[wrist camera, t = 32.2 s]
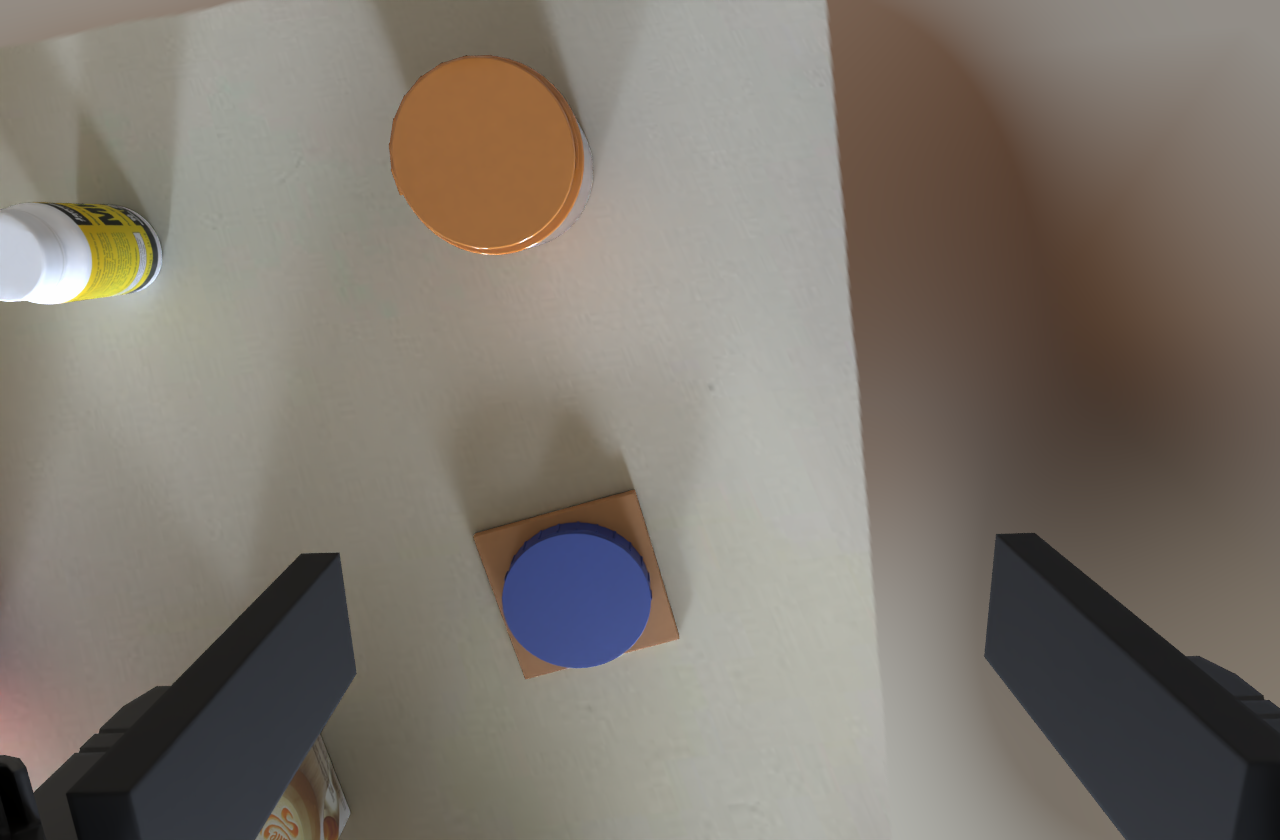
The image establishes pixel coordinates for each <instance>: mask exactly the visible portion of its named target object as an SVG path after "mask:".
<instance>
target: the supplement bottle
mask: <svg viewBox="0 0 1280 840" xmlns="http://www.w3.org/2000/svg"><path fill="white" fill-rule="evenodd" d="M161 264H162V250H161V245H160V242H159V239H158V236H157V234H156V232H155V231H154V229H153V228H152V226H151V225H150V224H149V223H148V222H147V221H146V220H145V219H144V218H143V217H142V216H140V215H139V214H137V213H136V212H134V211H132V210H130V209H128V208H125V207H122V206H117V205H107V204H72V203H46V202H28V203H20V204H15V205H12V206H10V207H7V208H5V209H0V301H8V302H13V301H23V300H27V301H30V302H34V303H39V304H61V303H67V302H73V301H80V300H87V299H94V298H101V297H109V296H116V295H123V294H129V293H134V292H137V291H140V290H142V289H144V288H146V287H147V286H149V285H150V284H151V283H152V282H153V281H154V280H155V278H156V277H157V275H158V273H159V271H160V268H161Z"/></svg>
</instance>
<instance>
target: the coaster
mask: <svg viewBox="0 0 1280 840" xmlns="http://www.w3.org/2000/svg"><path fill="white" fill-rule="evenodd" d="M577 521H579V522H581V523H590V524H595V525H596V524H598V525H599V526H602V527H605V528H608V529H610V530H612V531H616V533H617V534H619V535H621V536H622V537H624V538H625V539H626V540H627V541H628V542H631V545H632V546H633V547H634V548H635V549H636V550H637V552H638V553H639V554H640V556H642V557H643V561H644V563H645V565H646V568H647V571H648V572H649V573H650V590H652V600H651V608H650V614H649V618H648V622H647V624H646V627H645V629H644V631H643V632H642V634H641V636H640V637H639V638H638V640H637V641H636V642H635V644H634V645H633V646H632V647H631V648H630V649H629V650H627V651H626V652H625V653H628V652H632V651H636V650H639V649H643V648H647V647H651V646H655V645H658V644H662V643H666V642H670V641H674V640H677V639H679V633H678V629H677V626H676V623H675V620H674V616H673V613H672V610H671V606H670V603H669V600H668V597H667V593H666V590H665V587H664V583H663V580H662V577H661V574H660V570H659V567H658V564H657V560H656V557H655V554H654V550H653V547H652V544H651V541H650V537H649V534H648V531H647V527H646V524H645V521H644V518H643V514H642V511H641V508H640V504H639V501H638V498H637V495H636V491H635V490H631V491H627V492H623V493H620V494H616V495H613V496H609V497H605V498H602V499H598V500H594V501H591V502H587V503H583V504H580V505H576V506H572V507H569V508H565V509H562V510H558V511H554V512H551V513H547V514H543V515H540V516H536V517H532V518H529V519H525V520H522V521H518V522H514V523H511V524H507V525H503V526H500V527H496V528H492V529H489V530H485V531H482V532H478V533H475V534H474V536H473V538H474V541H475V544H476V546H477V549H478V552H479V554H480V557H481V560H482V563H483V565H484V568H485V571H486V574H487V576H488V579H489V582H490V584H491V587H492V590H493V593H494V595H495V598H496V601H497V604H498V606H499V609H500V612H501V615H502V617H503V620H504V623H505V625H506V628H507V631H508V634H509V636H510V639H511V642H512V645H513V647H514V650H515V653H516V655H517V658H518V661H519V664H520V666H521V669H522V672H523V675H524V677H525V679H529V678H533V677H537V676H540V675H544V674H548V673H552V672H556V671H559V670H563V669H567V667H561V666H557V665H554V664H550V663H548V662H545V661H543V660H541V659H539V658H537V657H536V656H534V655H532V654H531V653H530V652H528V651H527V650H526V649H525V648H524V647H523V646H522V645H521V644H520V643H519V642H518V641H517V640H516V638H515V637H514V636H513V634H512V632H511V631H510V629H509V627H508V625H507V622H506V620H505V616H504V612H503V606H502V592H503V587H504V583H505V581H504V578H505V575H506V572H507V571H509V568H510V565H511V561H512V559H513V556H514V555H516V554H517V552H518V551H519V549H520V548H521V547H522V546H523V545H524V542H525V541H528V540H529V539H530V538H532V537H533V536H534V535H536V534H538V533H539V532H540V530H542V531H543V530H545V529H547V528H549V527H552V526H556V525H558V524H559V523H560V524H565V523H574V522H577ZM623 654H624V653H623Z"/></svg>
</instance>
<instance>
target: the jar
mask: <svg viewBox="0 0 1280 840" xmlns="http://www.w3.org/2000/svg"><path fill="white" fill-rule="evenodd" d="M389 150H390V160H391V172H392V174H393V177H394V180H395V183H396V186H397V188H398V191H399V194H400V195H403V196H404V197H405V199H406V201H407V203H408V204H409V206H410V207H411V208H412V210H413V211H414V213H415V214H416V215H417V217H418V218H419V219H420V220H421V221H422V222H423V223H424V224H425V226H426V227H427V228H428V229H430V230H431V231H432V232H433V233H434V234H436V235H437V236H438V237H440V238H441V239H443V240H444V241H446V242H448V243H449V244H452V245H454V246H456V247H458V248H460V249H463V250H466V251H469V252H473V253H479V254H486V255H502V254H510V253H514V252H519V251H522V250H525V249H529V248H532V247H535V246H538V245H541V244H544V243H547V242H550V241H552V240H553V239H555V238H557V237H559V236H560V235H562V234H563V233H564V232H566V231H567V230H568V229H569V228H570V227H571V226H572V225H573V224H574V223H575V222H576V221H577V219H578V218H579V217H580V215H581V214H582V212H583V210H584V209H585V206H586V204H587V202H588V200H589V196H590V193H591V189H592V183H593V159H592V155H591V150H590V147H589V144H588V141H587V139H586V137H585V135H584V133H583V131H582V129H581V127H580V125H579V123H578V121H577V119H576V117H575V115H574V113H573V111H572V109H571V107H570V106H569V104H568V103H567V101H566V100H565V98H564V97H563V95H562V94H561V93H560V92H559V91H558V90H557V88H556V87H555V86H554V85H553V84H552V83H551V82H550V81H548V80H547V79H546V78H545V77H544V76H543V75H541V74H540V73H538V72H537V71H535V70H534V69H532V68H530V67H528V66H526V65H524V64H522V63H520V62H517V61H514V60H511V59H508V58H503V57H498V56H492V55H480V56H467V55H466V56H463V57H459V58H456V59H453V60H450V61H447V62H444V63H443V62H442V63H441V64H439V65H438V66H436V67H435V68H433V69H432V70H430V71H429V72H427V73H426V74H424V75H423V76H421V77H420V78H419V79H418V80H417V82H416V83H415V84H414V85H413V86H412V88H411V89H410V90H409V91H408V92H407V94H406V95H404V97H403V99H402V102H401V104H400V106H399V109H398V111H397V113H396V115H395V118H393V124H392V131H391V138H390V143H389Z"/></svg>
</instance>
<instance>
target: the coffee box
mask: <svg viewBox="0 0 1280 840" xmlns="http://www.w3.org/2000/svg"><path fill="white" fill-rule="evenodd" d="M349 816H350V810H349V807H348V805H347V802H346V799H345V797H344V794H343V792H342V789H341V786H340V784H339V781H338V779H337V776H336V774H335V771H334V768H333V766H332V763H331V761H330V758H329V755H328V753H327V750H326V748H325V745H324V742H323V740H322V737H321V735H320V734H319V736H318V738H317V739H316V741H315V743H314V744H313V746H312V748H311V749H310V751H309V752H308V754H307V756H306V757H305V759H304V761H303V762H302V764H301V766H300V767H299V769H298V771H297V772H296V774H295V775H294V777H293V779H292V780H291V782H290V784H289V785H288V787H287V789H286V790H285V792H284V793H283V795H282V797H281V798H280V800H279V802H278V803H277V805H276V807H275V808H274V810H273V812H272V813H271V815H270V816H269V818H268V820H267V821H266V823H265V825H264V826H263V828H262V830H261V831H260V833H259V835H258V836H257V838H256V839H255V840H338V839H339V837H340V835H341V832H342V830H343V828H344V826H345V824H346V822H347V820H348V818H349Z"/></svg>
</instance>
